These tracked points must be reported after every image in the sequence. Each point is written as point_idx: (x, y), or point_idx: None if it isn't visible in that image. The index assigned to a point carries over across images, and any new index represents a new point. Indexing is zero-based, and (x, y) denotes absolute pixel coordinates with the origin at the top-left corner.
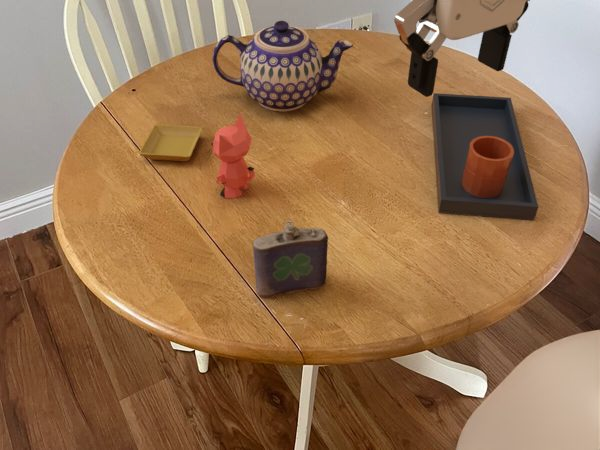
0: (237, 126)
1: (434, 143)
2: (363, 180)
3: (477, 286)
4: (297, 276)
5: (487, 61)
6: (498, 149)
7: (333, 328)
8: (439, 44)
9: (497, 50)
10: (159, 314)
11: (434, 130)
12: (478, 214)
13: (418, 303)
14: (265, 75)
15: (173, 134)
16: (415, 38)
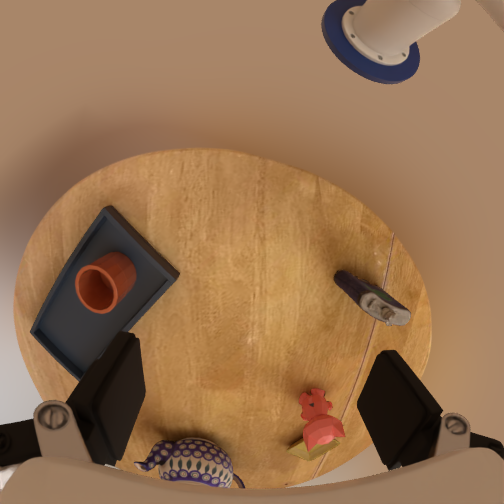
0: (314, 442)
1: None
2: (210, 351)
3: (228, 177)
4: (366, 285)
5: (139, 376)
6: (85, 287)
7: (365, 228)
8: (446, 449)
9: (121, 385)
10: (427, 315)
11: None
12: (149, 245)
13: (290, 199)
14: (225, 473)
15: (303, 451)
16: (498, 454)
